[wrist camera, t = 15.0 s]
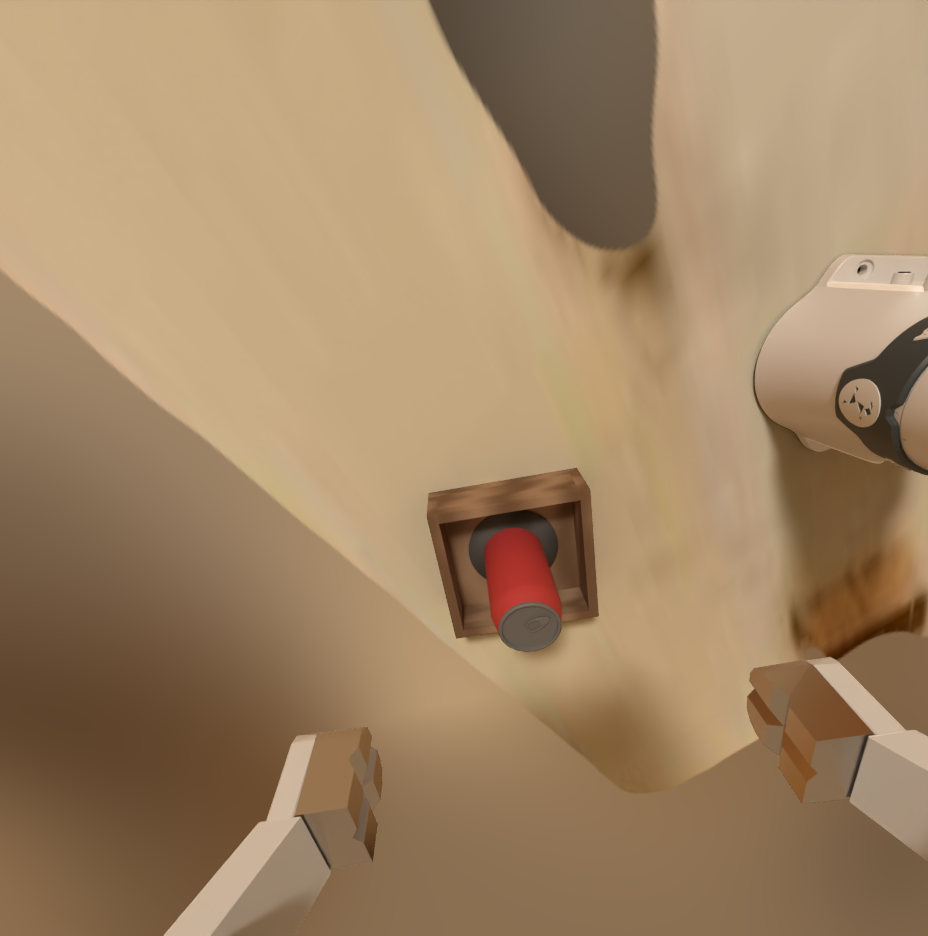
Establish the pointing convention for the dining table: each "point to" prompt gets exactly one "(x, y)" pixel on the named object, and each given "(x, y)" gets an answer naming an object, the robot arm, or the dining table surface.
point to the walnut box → (514, 506)
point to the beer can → (522, 590)
